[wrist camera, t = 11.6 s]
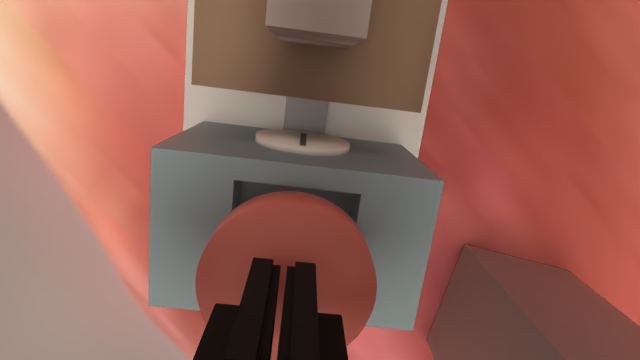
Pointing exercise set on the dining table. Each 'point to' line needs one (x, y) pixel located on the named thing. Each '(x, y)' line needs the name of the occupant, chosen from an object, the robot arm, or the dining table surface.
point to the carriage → (318, 49)
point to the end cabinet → (291, 175)
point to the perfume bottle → (526, 314)
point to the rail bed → (305, 107)
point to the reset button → (291, 256)
